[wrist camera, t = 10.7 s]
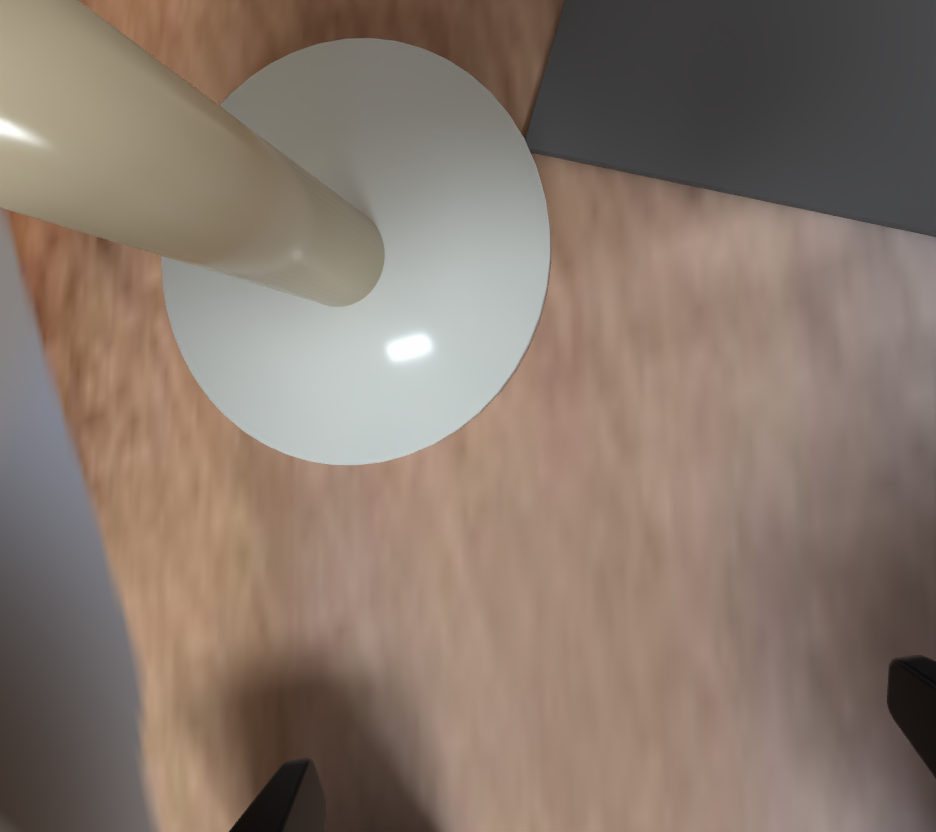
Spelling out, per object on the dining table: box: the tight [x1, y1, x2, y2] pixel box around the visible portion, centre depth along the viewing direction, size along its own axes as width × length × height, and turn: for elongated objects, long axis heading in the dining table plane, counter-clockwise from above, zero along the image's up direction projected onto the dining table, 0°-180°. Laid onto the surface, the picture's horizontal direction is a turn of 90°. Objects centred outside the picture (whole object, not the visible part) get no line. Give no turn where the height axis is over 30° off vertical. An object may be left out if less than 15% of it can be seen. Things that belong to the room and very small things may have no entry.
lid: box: [0, 0, 551, 465], centre depth 12 cm, size 14×14×13 cm
